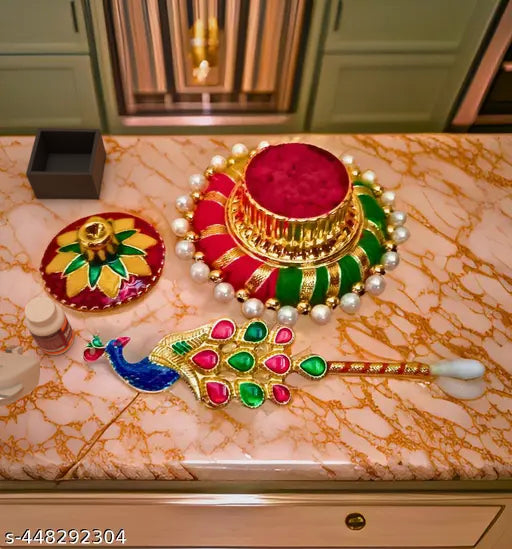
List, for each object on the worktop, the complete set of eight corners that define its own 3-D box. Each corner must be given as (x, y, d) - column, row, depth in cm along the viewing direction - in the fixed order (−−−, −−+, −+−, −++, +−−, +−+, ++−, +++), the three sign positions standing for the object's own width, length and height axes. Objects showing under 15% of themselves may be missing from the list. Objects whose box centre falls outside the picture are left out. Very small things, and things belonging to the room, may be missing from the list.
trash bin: (36, 198, 117) (25, 174, 111) (47, 153, 124) (37, 127, 118) (99, 199, 118) (91, 175, 111) (106, 154, 124) (100, 128, 118)
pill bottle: (79, 348, 100) (63, 318, 90) (43, 361, 98) (23, 332, 89) (70, 319, 103) (54, 287, 93) (35, 331, 101) (15, 299, 92)
